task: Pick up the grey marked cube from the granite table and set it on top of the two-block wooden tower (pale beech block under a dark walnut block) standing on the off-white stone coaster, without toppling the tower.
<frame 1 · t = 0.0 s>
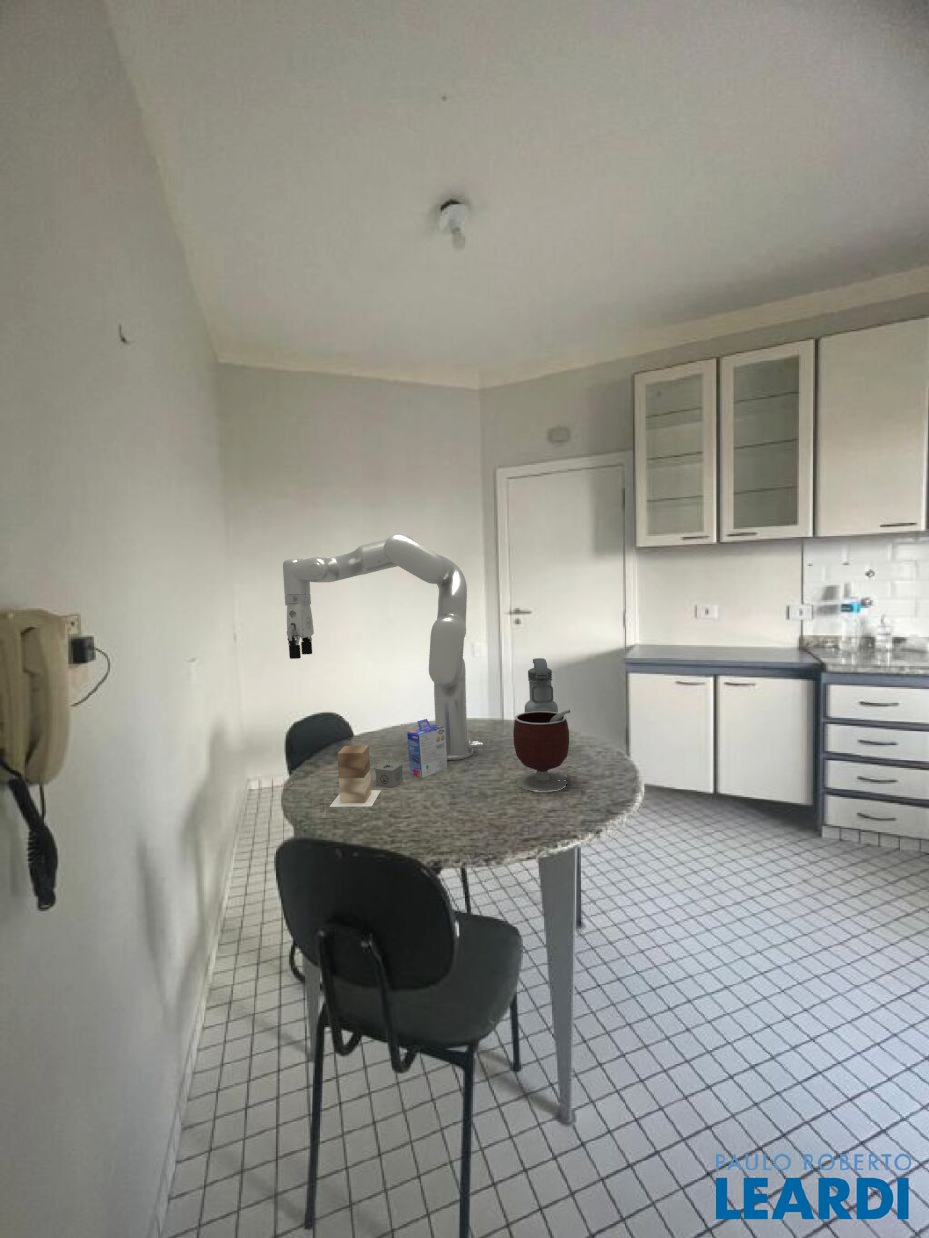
hand: (301, 656, 168), 31 cm above the table, tool pointing down, fingers open, 9 cm apart
stone coaster: (356, 800, 134), on the table
walnut block: (354, 773, 133), point 7 cm above the table, touching beech block
beech block: (356, 798, 133), point 1 cm above the table, touching stone coaster, walnut block
water bottle: (542, 754, 164), on the table
ink cartridge box: (428, 773, 151), on the table
mate gourd: (545, 785, 139), on the table
grey marked cube: (389, 786, 143), on the table
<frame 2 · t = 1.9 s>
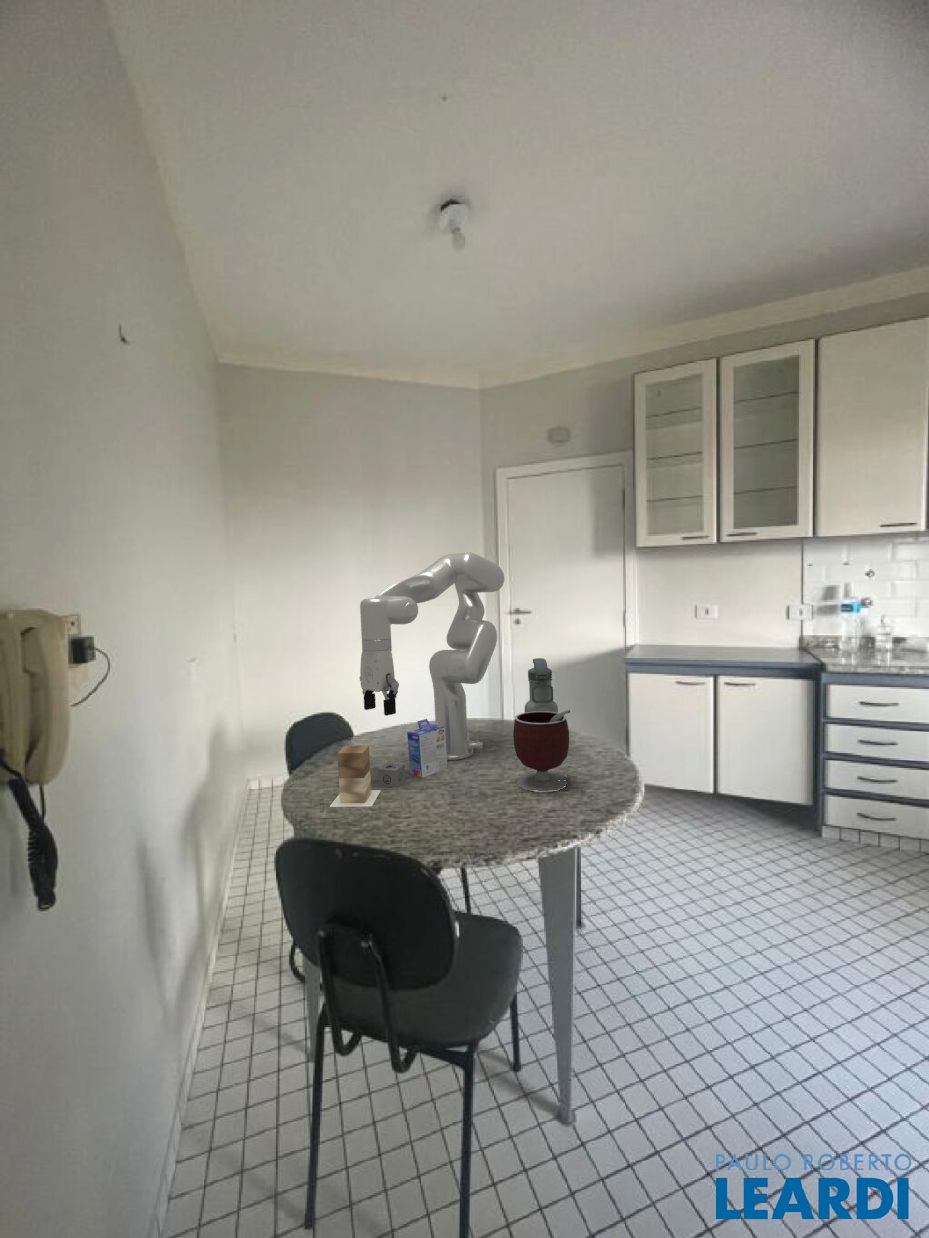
hand: (379, 711, 143), 19 cm above the table, tool pointing down, fingers open, 9 cm apart
nothing on the table moved.
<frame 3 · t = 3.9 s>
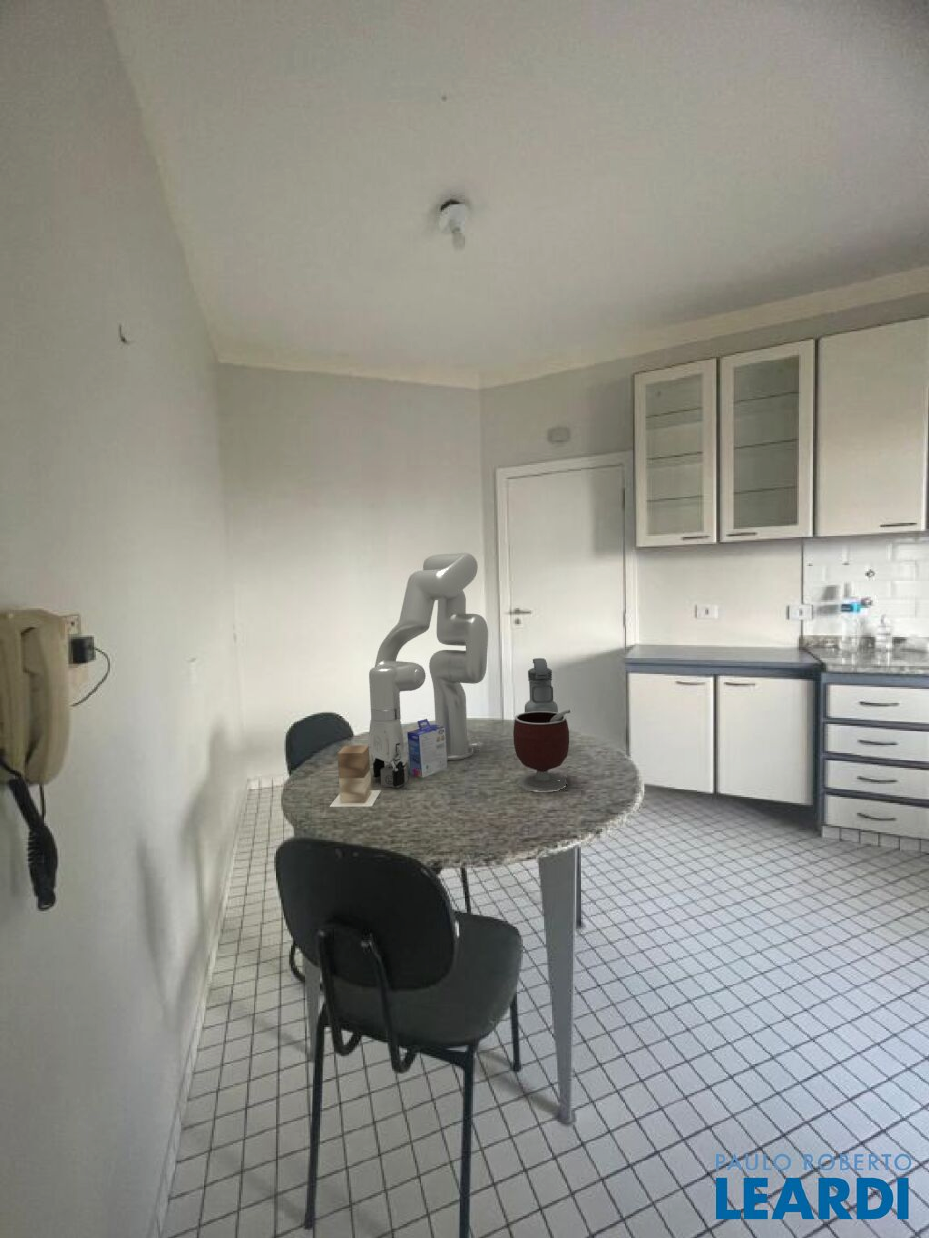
hand: (388, 780, 143), 1 cm above the table, tool pointing down, fingers open, 8 cm apart
grey marked cube: (394, 786, 142), on the table, touching gripper
everything else where it was.
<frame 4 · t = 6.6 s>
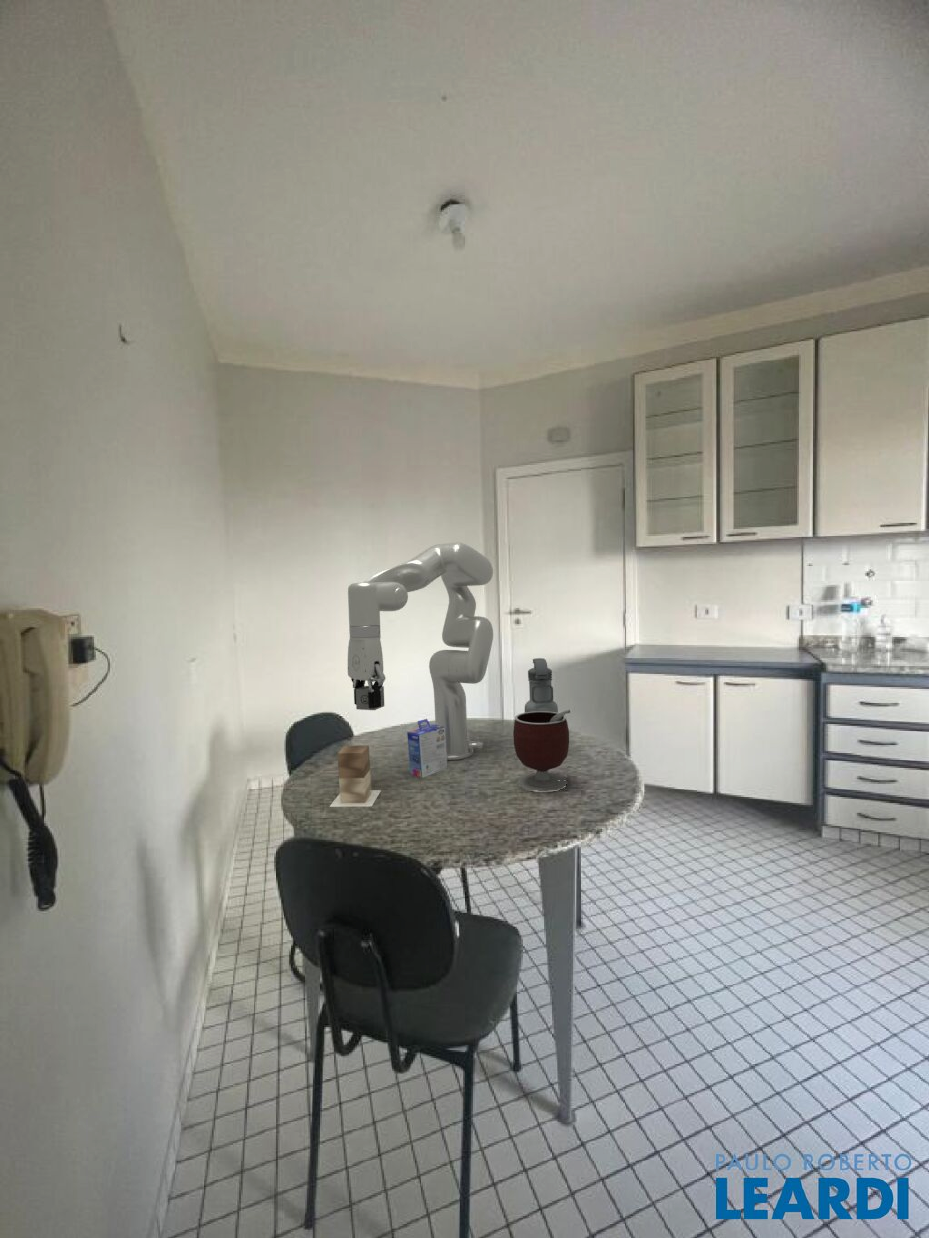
hand: (367, 704, 136), 22 cm above the table, tool pointing down, fingers closed on grey marked cube, 6 cm apart
grey marked cube: (370, 708, 137), point 21 cm above the table, touching gripper
everything else where it was.
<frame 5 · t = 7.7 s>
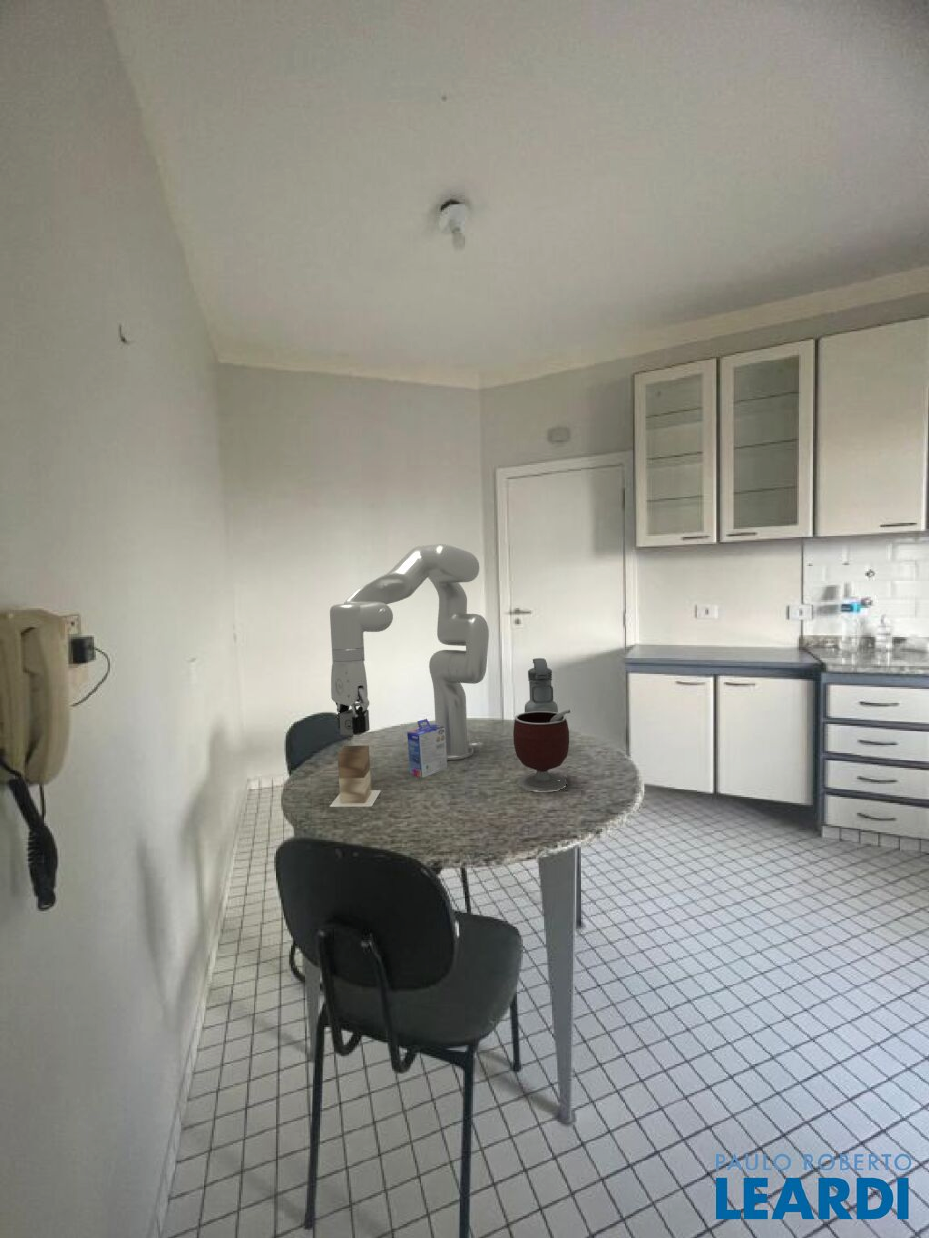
hand: (352, 729, 132), 17 cm above the table, tool pointing down, fingers closed on grey marked cube, 6 cm apart
grey marked cube: (355, 733, 133), point 17 cm above the table, touching gripper
everything else where it was.
when the fingers open (14 cm above the table, at t = 8.7 s): grey marked cube stays where it is, resting on walnut block.
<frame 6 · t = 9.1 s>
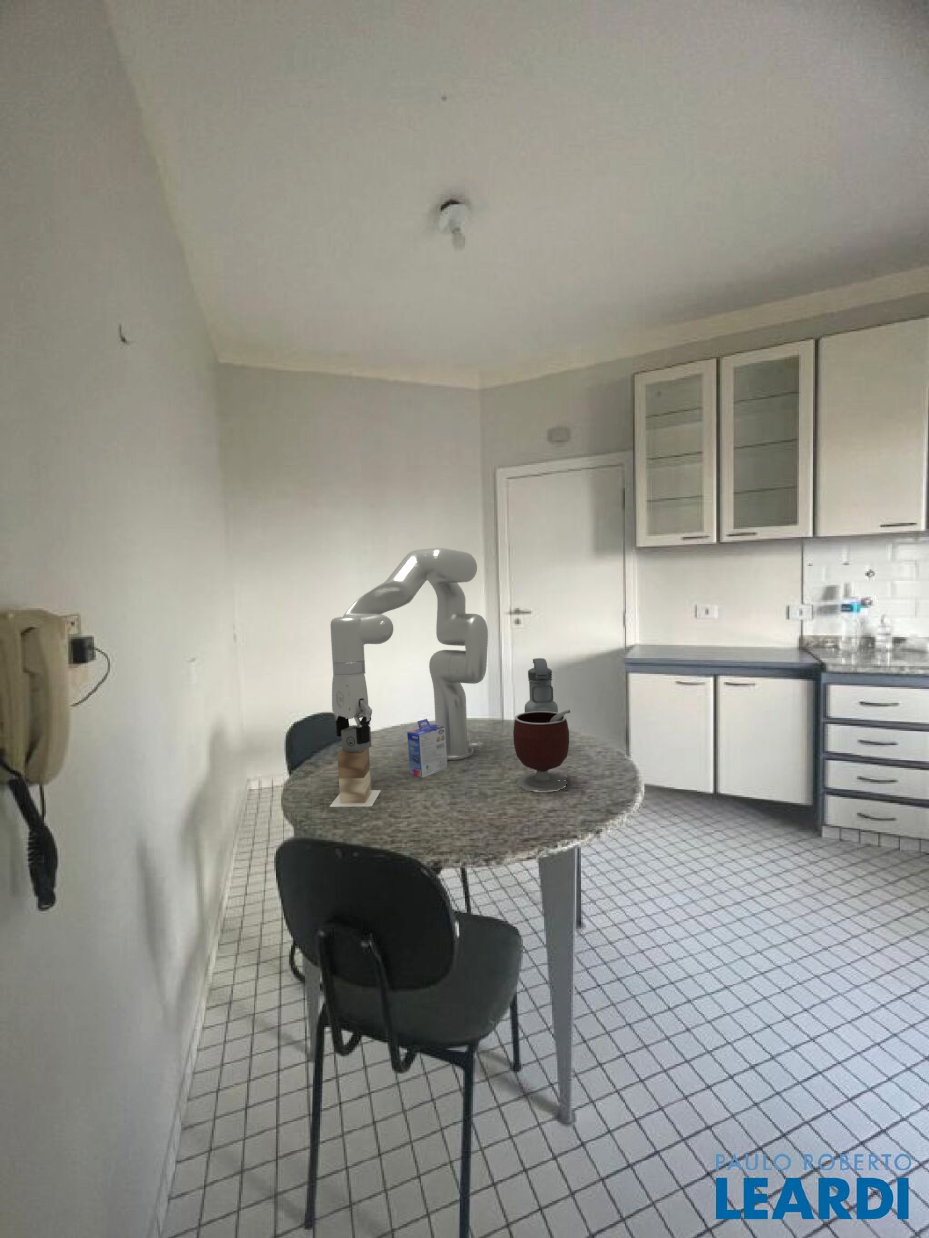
hand: (352, 739, 133), 15 cm above the table, tool pointing down, fingers open, 9 cm apart
walnut block: (354, 773, 133), point 7 cm above the table, touching beech block, grey marked cube
grey marked cube: (357, 749, 133), point 12 cm above the table, touching walnut block
everything else where it was.
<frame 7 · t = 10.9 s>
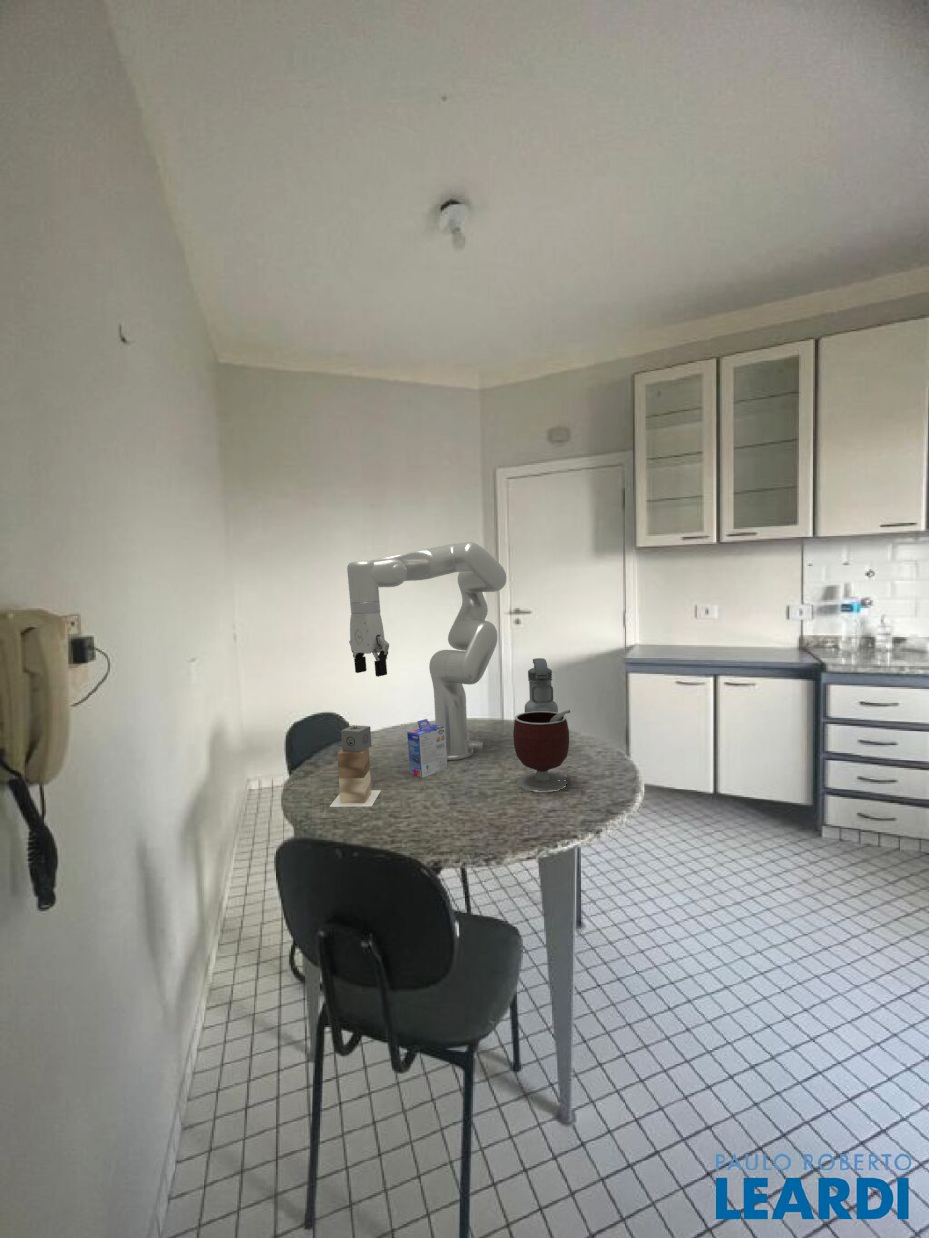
hand: (371, 673, 145), 29 cm above the table, tool pointing down, fingers open, 9 cm apart
nothing on the table moved.
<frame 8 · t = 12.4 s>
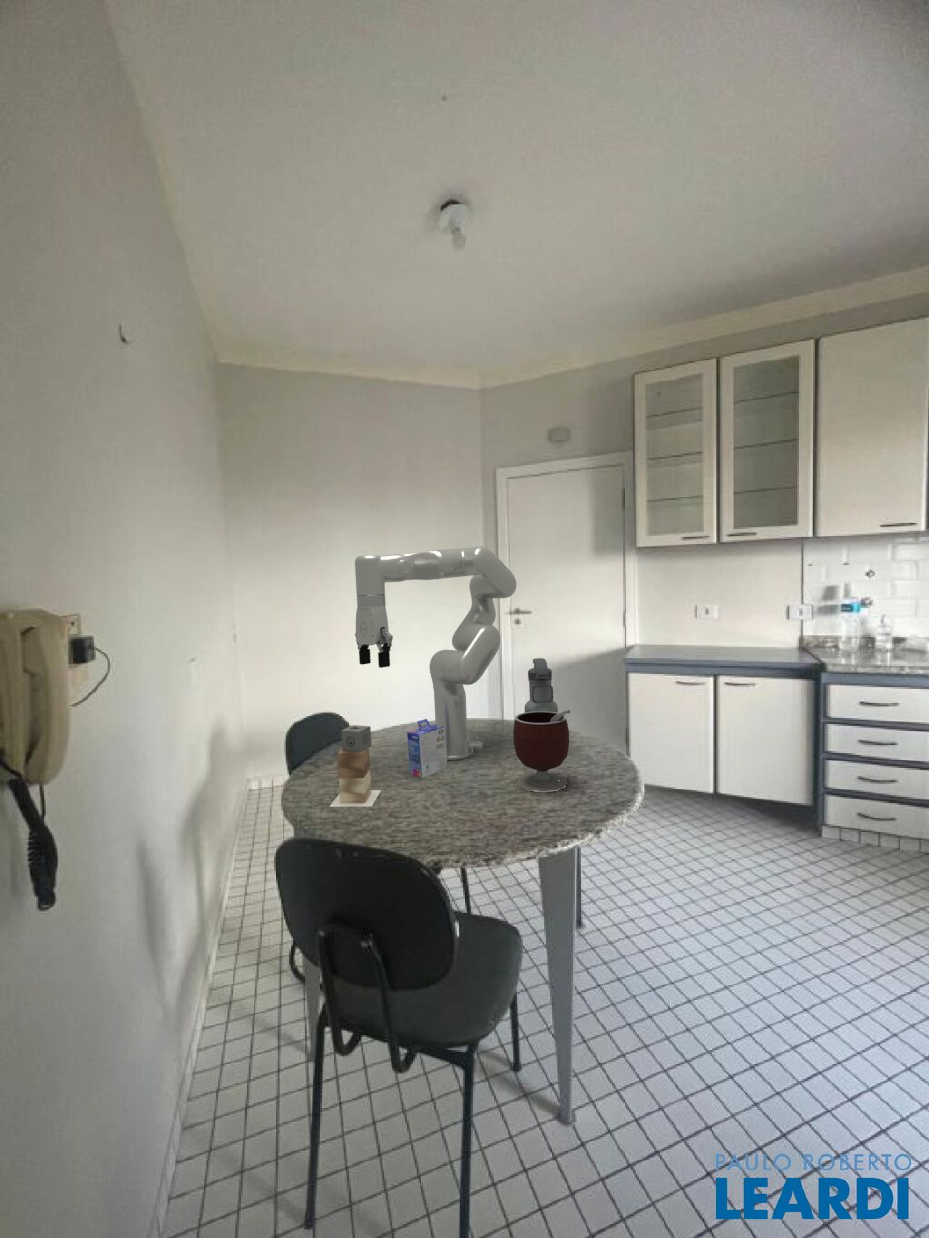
hand: (374, 665, 148), 30 cm above the table, tool pointing down, fingers open, 9 cm apart
nothing on the table moved.
at the end: grey marked cube inside the target area (0.8 cm from its centre), point 12.4 cm above the table; walnut block tilted 0°; the gripper is holding nothing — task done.
